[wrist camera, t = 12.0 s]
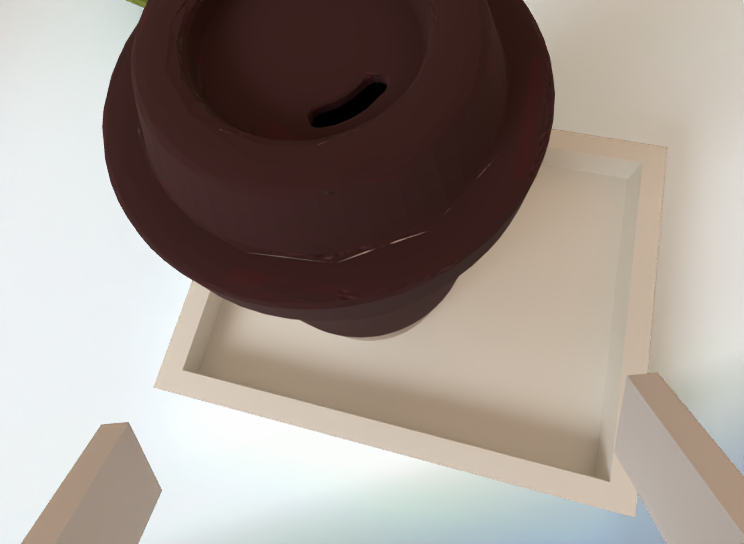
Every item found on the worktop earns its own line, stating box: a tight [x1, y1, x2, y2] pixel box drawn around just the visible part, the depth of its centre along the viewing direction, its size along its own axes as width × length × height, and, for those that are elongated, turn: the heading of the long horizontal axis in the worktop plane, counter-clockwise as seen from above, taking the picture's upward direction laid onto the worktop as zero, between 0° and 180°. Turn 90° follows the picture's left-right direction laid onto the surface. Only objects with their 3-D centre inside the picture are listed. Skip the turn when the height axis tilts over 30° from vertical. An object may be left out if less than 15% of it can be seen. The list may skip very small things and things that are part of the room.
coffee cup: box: [102, 0, 555, 341], centre depth 16 cm, size 10×10×15 cm
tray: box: [154, 129, 667, 517], centre depth 22 cm, size 20×16×3 cm
